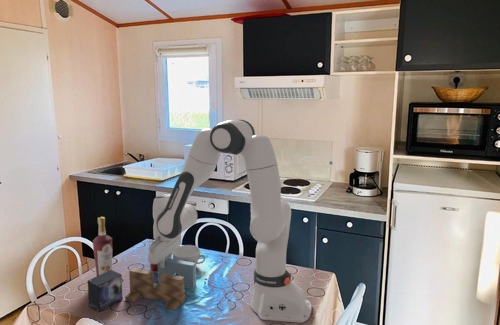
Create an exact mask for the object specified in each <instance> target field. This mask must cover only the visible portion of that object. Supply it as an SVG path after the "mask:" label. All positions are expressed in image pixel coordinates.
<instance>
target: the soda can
mask: <svg viewBox="0 0 500 325" xmlns="http://www.w3.org/2000/svg"><path fill="white" fill-rule="evenodd" d="M151 244H152V242H150V244H149V246H150V245H151ZM165 258H166V257H165ZM149 271H153V273H158V264H150V263H149Z"/></svg>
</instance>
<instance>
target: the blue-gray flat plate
mask: <svg viewBox="0 0 500 325" xmlns="http://www.w3.org/2000/svg"><path fill="white" fill-rule="evenodd" d="M164 262H166V266H165V267H164V268H161V267H160V262H159V263H158V272H157V283H159V276H160V275H161V274H162V273H164V274H170V275H176V274H177V275H179V276H181V277H184V288H187V289H193V290H194V289H195V288H196V286H197V269H196V267H197V266H196V265H197V264H196V263H193V262H187V261H181V260H175V259H173V258H171V259H169V258H165V260H164Z"/></svg>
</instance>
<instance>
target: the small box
mask: <svg viewBox="0 0 500 325" xmlns="http://www.w3.org/2000/svg"><path fill="white" fill-rule="evenodd" d="M122 279H123V278H122V273H120V272H117V271H115V270H113V269H112V270H110V271H108V272H105V273H103V274H101V275H99V276H97V275H96V276H95V277H92V278H90V279H88V280H87V294H88V308H90V309H92V310H93V311H97V312H99V313H100V312H101V311H104V310H105V309H107V308H108V307H110V306H112V305H115V304H116V303H118V302H120V301H122V300H123V280H122Z"/></svg>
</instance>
